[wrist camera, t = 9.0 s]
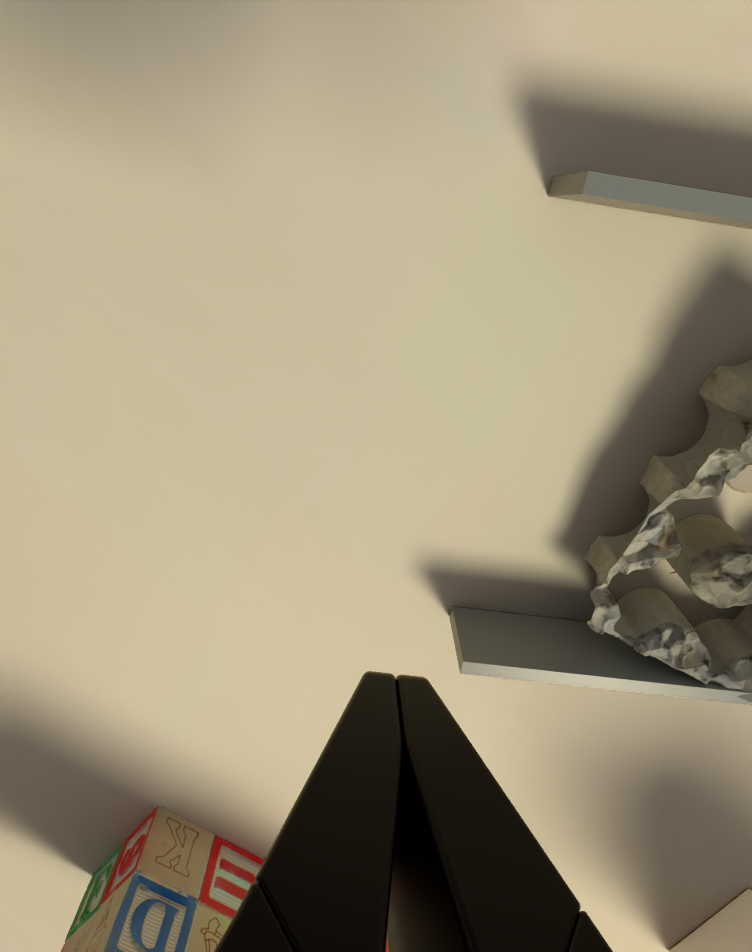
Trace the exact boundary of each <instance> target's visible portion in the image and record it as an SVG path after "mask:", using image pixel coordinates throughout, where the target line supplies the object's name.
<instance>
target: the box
mask: <svg viewBox="0 0 752 952" xmlns="http://www.w3.org/2000/svg"><path fill="white" fill-rule="evenodd" d="M549 197H555V198H562V199H568V200H574V201H580V202H586V203H593V204H599V205H605V206H611V207H617V208H624V209H630V210H636V211H642V212H648V213H655V214H661V215H667V216H673V217H680V218H686V219H692V220H698V221H704V222H711V223H717V224H723V225H729V226H735V227H742V228H748V229H752V198H751V197H745V196H738V195H732V194H726V193H720V192H714V191H708V190H702V189H696V188H690V187H684V186H678V185H672V184H666V183H659V182H653V181H647V180H641V179H635V178H629V177H623V176H617V175H611V174H605V173H599V172H593V171H584V172H578V173H572V174H566V175H560V176H554V177H553V179H552V183H551V187H550V191H549ZM450 622H451V627H452V633H453V638H454V643H455V648H456V654H457V659H458V664H459V669H460V674H470V675H479V676H488V677H497V678H507V679H516V680H525V681H534V682H543V683H553V684H562V685H571V686H580V687H589V688H599V689H608V690H617V691H626V692H635V693H645V694H654V695H663V696H672V697H681V698H691V699H700V700H709V701H718V702H728V703H737V704H746V705H752V703H751V702H749V701H747V700H744V699H742V698H740V697H737V696H739V695H744V694H752V692H745V691H741V690H731V689H726V688H724V687H722V686H720V685H719V684H717V683H715V682H708V683H707V684H705V683H703V682H701V681H700V680H698V679H696V678H694V677H692V676H690V675H689V674H687V673H685V672H683V671H680V670H677V669H674V668H672V667H671V666H669V665H668V664H666V663H664V662H663V661H661V660H659V659H657V658H655V657H653V656H644V655H642V654H640V653H639V652H637V651H636V650H634V649H633V648H632V647H631V646H630V645H628V644H627V643H626V642H624V641H622V640H621V639H619V638H617V637H615V636H613V635H611V634H609V633H606V632H604V634H603V635H602V634H599V633H597V632H595V631H594V630H592V629H591V628H590V627H589V626H588V625H587V622H582V621H574V620H565V619H556V618H548V617H539V616H530V615H522V614H513V613H504V612H496V611H487V610H479V609H470V608H461V607H453V606H452V609H451V614H450Z"/></svg>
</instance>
